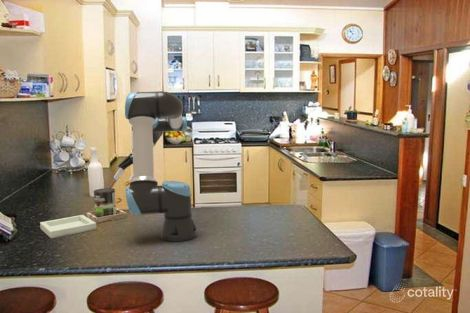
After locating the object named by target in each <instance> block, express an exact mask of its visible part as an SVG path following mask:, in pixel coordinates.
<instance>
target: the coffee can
mask: <svg viewBox="0 0 470 313" xmlns="http://www.w3.org/2000/svg"><path fill="white" fill-rule="evenodd" d="M93 198H94V208H95V209H94V211H96V217H103V216H108V215H114V214H116V208H117V204H116V203H117V202H116V188H112V187H104V188H102V189H97V190H94V197H93Z"/></svg>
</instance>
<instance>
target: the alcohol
mask: <svg viewBox="0 0 470 313" xmlns="http://www.w3.org/2000/svg"><path fill="white" fill-rule="evenodd" d="M89 149H90V150H89V152H90V162H89V164H88V165H87V178H88V188H89V189H88V192H89V196H90V198H94V190H97V189H102V188H105V182H104V169H103V164H102V163H100V160H99V157H98V149H97V146H96V147H89Z"/></svg>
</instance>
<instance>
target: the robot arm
mask: <svg viewBox="0 0 470 313" xmlns="http://www.w3.org/2000/svg"><path fill="white" fill-rule="evenodd" d="M125 98H126V99H125V102H124V116H125V119H127V120H128V123H129V124H130V125H131V126H132V152H131V153H130V154H129V155H128V156H127V157H125V159H124V160H122V161H121V162H120V163H119V164H118V167H119V168H118V170H117V171H116V173H115V175H114V176H113V179H114V180H116V181H118V180H119V179H120V177H121V176H122V175H123V174H124V172H125V170H126V169H127V168H128V167H130V166H131V165H132V175H131V176H130V177H129V179H128V181H129V186H128V187H126V188H125V197H126V203H127V204H126V205H127V207H128V210H129V212H130V214H131V215H133V216H134V215H139V216H143V215H157V214H163V215H164V218H163V219H164V220H163V223H162V228H161V231H160V234H161V235H160V237H161V239H162V240H163V241H167V242H183V241H189V240H192V239H195V238H196V237H197V236H198V230H197V229H198V228H197V226H196V225H195V222H194V219H193V209H192V193H191V186H190V185H189V184H188V183H186V182H185V181H176V180H169V181H168V180H166V181H163V182H162V184H161V185H159V184H158V181H157V180H156V178H155V175H154V174H155V173H154V167H155V166H154V147H155V146H156V145H157V143H158V141H159V140H160V139H161V137H162V136H163V133H166V132H182V131H187V130H188V123H187V122H188V121H187V120H188V119H187V116H183V112H184V104H183V102H182V100H181V99H180V98H179V97H178V96H176V94H173V93H171V92H168V91H163V90H162V91H159V90H158V91H136V92H130V93H128V94H127V95H126V97H125Z"/></svg>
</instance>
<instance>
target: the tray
mask: <svg viewBox="0 0 470 313" xmlns="http://www.w3.org/2000/svg"><path fill="white" fill-rule="evenodd" d="M39 224H40V225H39V228H40V230H41V231H42V232H43V233H45V235H46V236H48V238H50V239H51V240H52V239H55V238H61V237H66V236H71V235H75V234H76V235H77V234H81V233H86V232H91V231H96V229H97V223H95V222H94V221H92V220H90V219H89V218H87V217H86V216H85V215H84V214H79V215H73V216H69V217H63V218H57V219H52V220H46V221H40V222H39Z"/></svg>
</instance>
